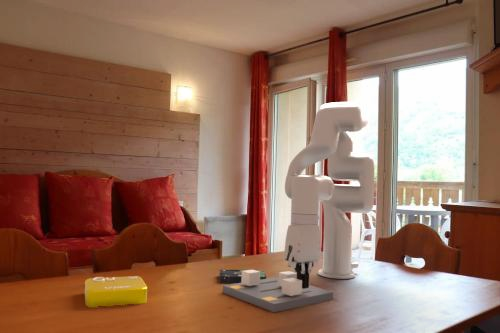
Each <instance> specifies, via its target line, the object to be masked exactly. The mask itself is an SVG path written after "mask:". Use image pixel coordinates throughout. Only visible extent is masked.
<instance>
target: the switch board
mask: <svg viewBox="0 0 500 333" xmlns="http://www.w3.org/2000/svg"><path fill="white" fill-rule="evenodd" d="M278 278H279V276H275V277H268V278H266V279H261V280H260V284H259V285H253V286H247V285H244V284H241V283H228V284H223V285H222V293H223V294H225V295H228V296H231V297H233V298H235V299H239V300H241V301H243V302H246V303H249V304H252V305H254V306H256V307H257V306H258V307H260V308H262V309H264V310H267V311H270V312H272V313H277V312H281V311H285V310H291V309H295V308H300V307H305V306H308V305H313V304H318V303H322V302H326V301H331V300H333V299H334V291H331V290H327V289H323V288H320V287H317V286H314V285H311V284H309V288H305V289H303V288H302V294H298V295H293V296H289V295H286V294H283V293H282V286H280V285H278Z"/></svg>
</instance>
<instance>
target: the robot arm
mask: <svg viewBox="0 0 500 333" xmlns="http://www.w3.org/2000/svg"><path fill="white" fill-rule="evenodd" d="M314 118H315V119H314V123H313V127H312V132H311V136H310V139H309V140H310V141H309V144H308V145H306V146H305V147H304V148H303V149H301V150H300V151H299V152H298V153H297V154H296V155H295V156H294V158H293V159H292V160H291V162H290V163H289V166H288V169H287V173H286V177H285V181H284V182H285V183H284V192H285V195H286V197H287V198H288V199H290V200H291V203H290V204H291V206H290V208H291V210H290V224H289V225H288V228H287V231H286V236H285V245H284V256H283V257H284V260H285V261H287V267H288V268H292V269H294V273H297V279H299V280H302V288H303V289H305V288H309V285H310V274H311V273H312V269H313V267H314V266H316V265H318V263H319V259H320V258H321V253H322V254H323V256H322V268H320V269H319V270H318V275H319V276H322V277H324V278H329V279H336V280H346V279H347V280H348V279H349V280H350V279H354V278H355V277H356V273H355V271H353V269H357V268H358V267H359V263H358V262H357V261H355V262H352V237H353V236H352V228H353V226H352V223H351V220H350V219H349V218H348V216H347V215H346V213H353V214H354V213H355V214H368V213H370V212H372V211H373V207H374V202H375V200H374V198H375V163H374V158H373V157H372V156H371V155H370V154H366V153H354V151H353V148H354V147H353V145H354V141H353V137H352V136H351V135H352V134H350V133H351V132H353V133H355V132H360V131H361V130H362V129H364V128H365V127H367V125H368V124H369V120H370V118H371V111H370V108H369V105H368V104H367V103H366V102H365V101H339V102H338V101H336V102H328V103H324V104H322V105H320V106H319V108H318V110H317V112H316V114H315V117H314ZM326 159H327V175H328V176H327V175H320V174H319V175H317V174H302V173H303V172H304V170H306V169H307V168H309V166H310V167H311V166H313V165H314V164H316V163H319V162H321V161H323V160H326ZM334 181H342V182H358V183H359V185H358V184H357V185H356V184H341V183H340V184H337V183H334ZM320 202H322V208H323V252H321V251H322V249H321V246H322V244H321V242H322V241H321V230H320V225H319V220H320V216H319V209H320Z"/></svg>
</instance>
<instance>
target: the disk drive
mask: <svg viewBox="0 0 500 333" xmlns="http://www.w3.org/2000/svg"><path fill="white" fill-rule="evenodd" d="M245 270H246V269H219V284H235V283H241V279H242V271H245ZM255 270H256V271H259V272H260V280H261V279H267V276H266V273H265V271H264V270H257V269H255Z"/></svg>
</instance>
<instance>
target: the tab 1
mask: <svg viewBox="0 0 500 333" xmlns="http://www.w3.org/2000/svg"><path fill="white" fill-rule="evenodd" d="M244 270H245V271H242V279H241V284H244V285H247V286H253V285H259V284H260V272H259V271H260V270H258V271H256V270H257V269H244Z"/></svg>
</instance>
